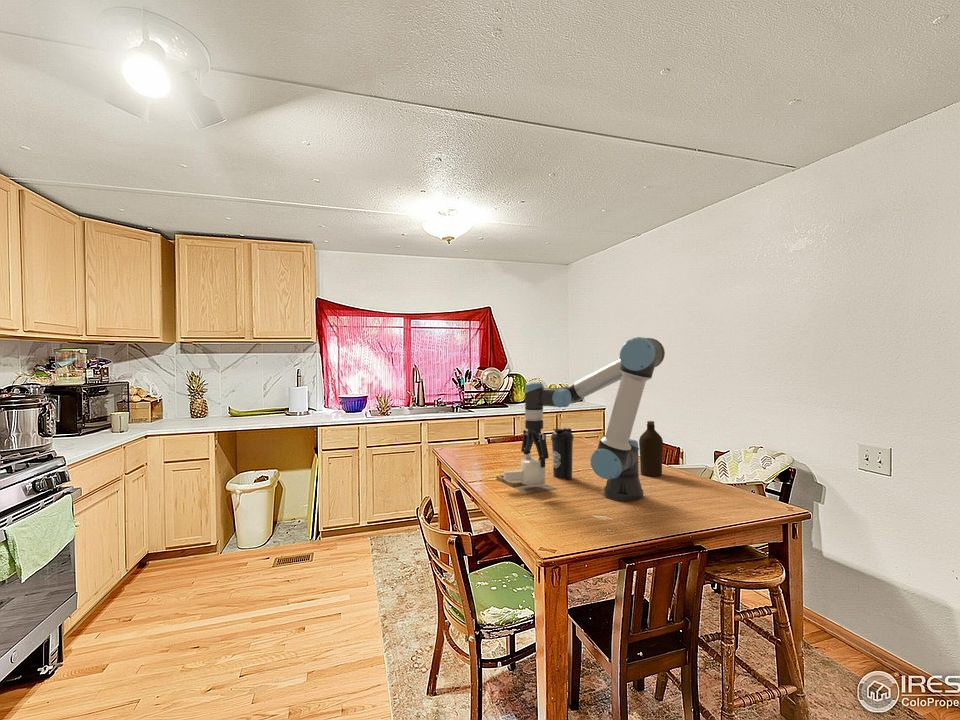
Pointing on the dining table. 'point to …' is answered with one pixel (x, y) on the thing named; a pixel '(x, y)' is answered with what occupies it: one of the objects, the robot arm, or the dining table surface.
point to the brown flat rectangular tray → (525, 486)
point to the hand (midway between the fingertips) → (534, 472)
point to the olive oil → (651, 452)
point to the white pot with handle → (526, 473)
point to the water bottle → (562, 453)
